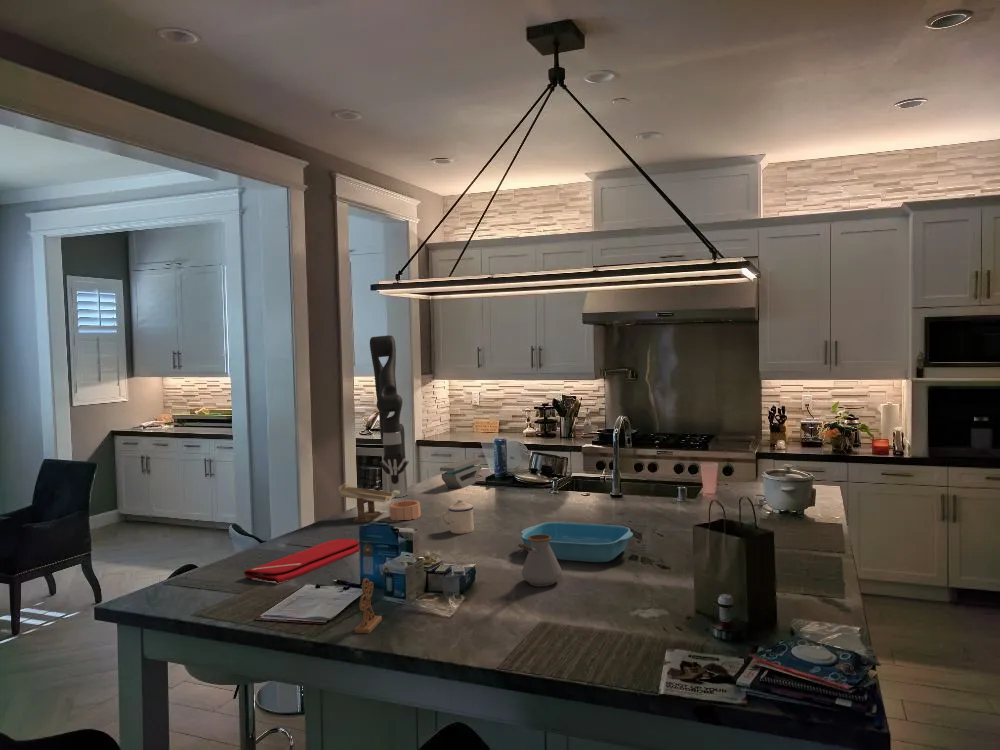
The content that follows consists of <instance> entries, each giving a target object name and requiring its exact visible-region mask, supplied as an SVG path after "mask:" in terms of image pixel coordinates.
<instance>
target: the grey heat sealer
mask: <svg viewBox="0 0 1000 750" xmlns="http://www.w3.org/2000/svg"><path fill="white" fill-rule="evenodd" d="M480 462H481V458H470V457H469V458H464V459H461V460H457V461H454V462H452V463H449V464H446V465H443V466H440V467H439V471H440V472H444V473H441V480H442V481H443V482H444V484H445V485H446V486H447V487H448V488H449V489H450V488H452V489H453V488H454V489H465V488H467V487H469V486H471V485H473V484H476V481H477V479H478V476H479V473H480V466H479V465H475V464H479V463H480Z"/></svg>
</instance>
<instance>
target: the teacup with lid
mask: <svg viewBox="0 0 1000 750" xmlns="http://www.w3.org/2000/svg"><path fill="white" fill-rule="evenodd" d="M445 514H446V515H448V516H449V522H447V521H446V520H445V518H444V516H445ZM440 516H441V517H440V518H441V521H442V523H443V525H444V524H445V525H446V526H450V527H449V528H450V532H451V533H452V534H456V535H458V534H459V535H461V534H469V533H472V532H473V531H474V530H475V528H474V527H475V526H474V525H475V524H474V506H473V504H471V503H468V502H466V501H464V500H463V498H458V499H457V502H454V503H452V505H449V507H448V511H444V512H443V513H442V514H441V515H440Z"/></svg>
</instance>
